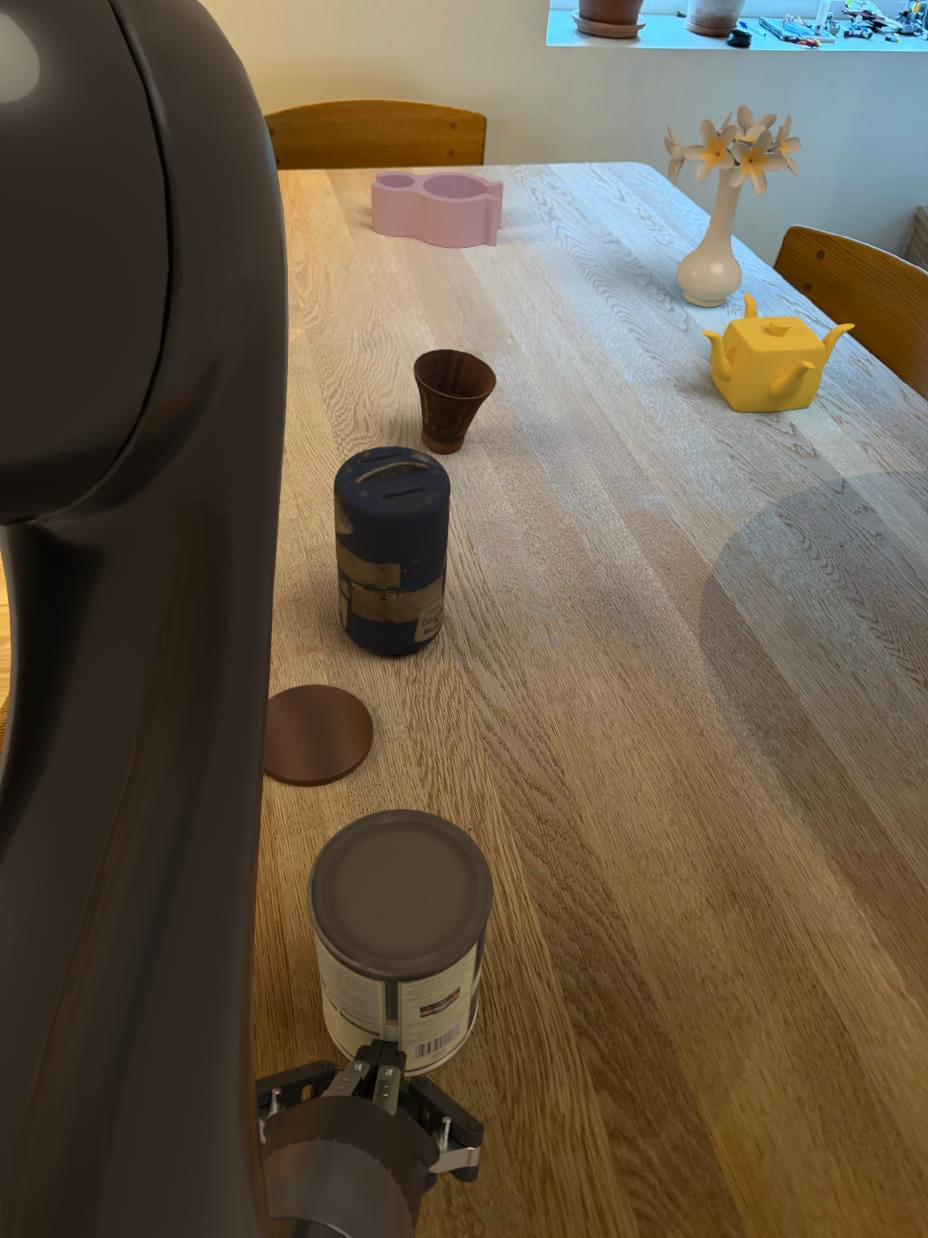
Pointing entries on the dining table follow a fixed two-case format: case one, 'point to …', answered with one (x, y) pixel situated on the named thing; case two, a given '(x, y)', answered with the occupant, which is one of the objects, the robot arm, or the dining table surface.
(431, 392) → the cup
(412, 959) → the coffee can
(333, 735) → the dark brown wooden coaster
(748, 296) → the teapot
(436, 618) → the canister
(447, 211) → the pink cup holder
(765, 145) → the flower vase
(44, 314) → the robot arm
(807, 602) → the dining table surface
